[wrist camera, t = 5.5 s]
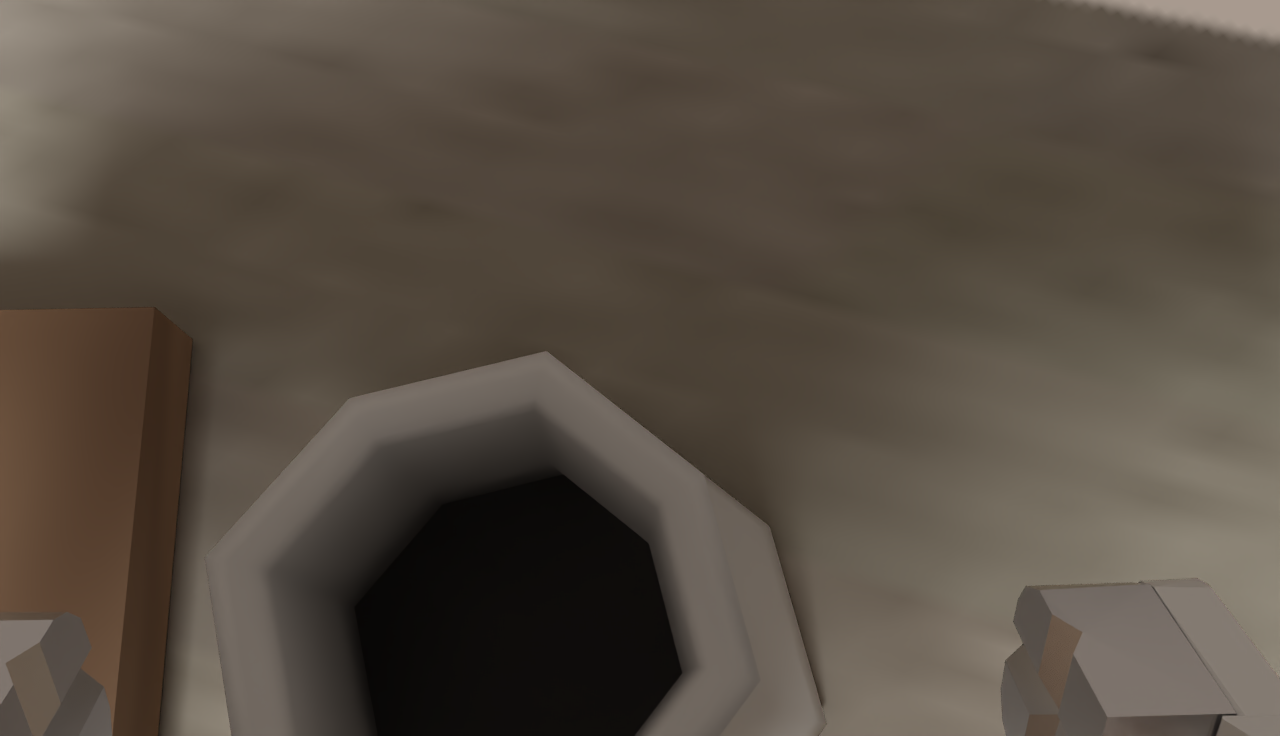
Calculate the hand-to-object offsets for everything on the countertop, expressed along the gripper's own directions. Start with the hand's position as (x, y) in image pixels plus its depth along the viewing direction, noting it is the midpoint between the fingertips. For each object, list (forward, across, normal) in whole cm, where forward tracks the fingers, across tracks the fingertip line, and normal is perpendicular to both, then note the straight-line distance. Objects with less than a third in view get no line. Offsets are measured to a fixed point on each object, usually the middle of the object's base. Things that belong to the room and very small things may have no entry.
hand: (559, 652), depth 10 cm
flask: (+5, 0, +5) cm, 7 cm away
